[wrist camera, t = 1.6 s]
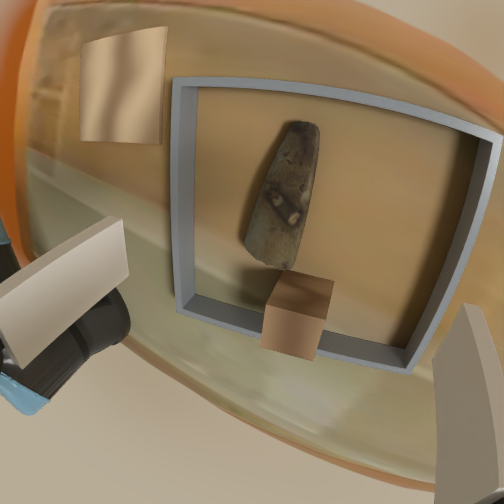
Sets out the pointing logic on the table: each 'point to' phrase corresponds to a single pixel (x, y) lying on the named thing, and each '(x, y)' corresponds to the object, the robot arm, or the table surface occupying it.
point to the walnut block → (296, 314)
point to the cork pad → (123, 87)
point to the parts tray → (253, 321)
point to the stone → (285, 199)
